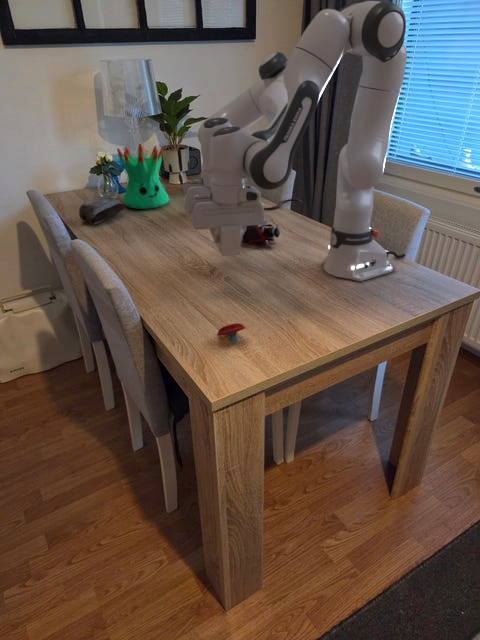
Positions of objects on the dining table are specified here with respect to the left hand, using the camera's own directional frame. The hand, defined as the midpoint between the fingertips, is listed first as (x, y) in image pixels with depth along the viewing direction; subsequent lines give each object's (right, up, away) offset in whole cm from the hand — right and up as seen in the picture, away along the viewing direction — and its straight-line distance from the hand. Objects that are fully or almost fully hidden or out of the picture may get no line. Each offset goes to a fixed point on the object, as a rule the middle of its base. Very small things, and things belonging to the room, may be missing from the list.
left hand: (218, 223), depth 139 cm
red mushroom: (+5, -36, -29) cm, 46 cm away
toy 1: (-36, +23, +65) cm, 77 cm away
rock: (-50, +12, +47) cm, 69 cm away
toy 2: (+13, -3, +24) cm, 27 cm away
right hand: (+4, -8, -13) cm, 15 cm away
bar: (+2, -6, -5) cm, 8 cm away
